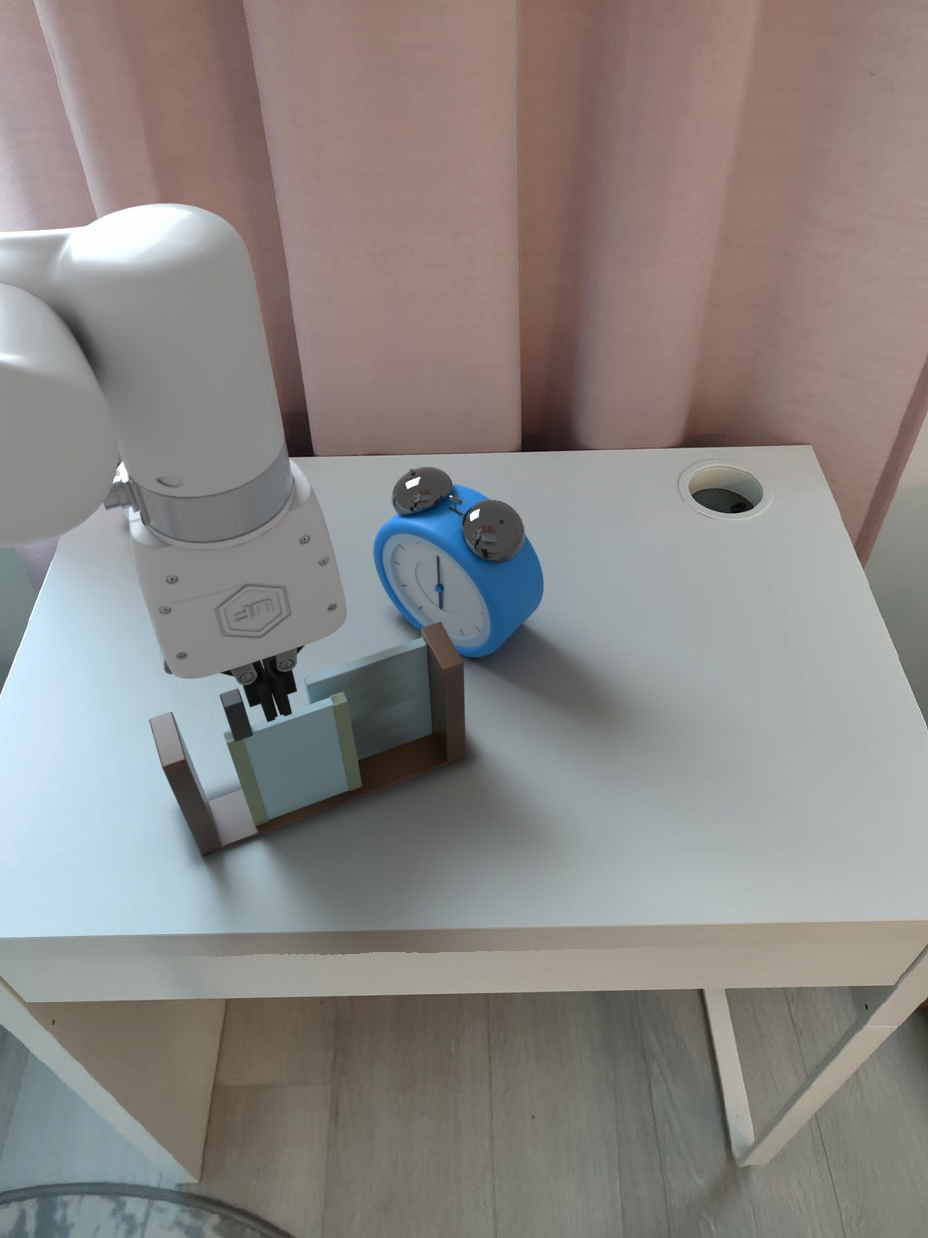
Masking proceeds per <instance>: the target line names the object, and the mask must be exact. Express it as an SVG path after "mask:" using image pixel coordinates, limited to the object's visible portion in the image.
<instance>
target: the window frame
mask: <svg viewBox="0 0 928 1238" xmlns="http://www.w3.org/2000/svg"><path fill="white" fill-rule="evenodd" d="M303 682H304V687H305V691H306V695H307V700H308V705H310V704H313V703H315V702H318V701H321V700H324V699H327V698H329V696H332V695H335V694H338V693H341V692H344V694H345V696H346V699H347V701H348V706H349V712H350V718H351V724H352V729H353V735H354V741H355V747H356V753H357V758H358V764H359V770H360V776H361V782H362V787H360V788H357V789H355V790H352V791H349V790H348V791H346V792H343V793H340V794H338V795H335V796H332V797H330V798H327V799H324V800H322V801H319V802H316V803H313V804H311V805H308V806H305V807H303V808H300V809H297V810H295V811H292V812H289V813H287V814H284V815H281V816H278V817H276V818H273V819H270V820H269V821H268V822H266V823H263V824H261V825H258V826H255V824H254V821H253V819H252V816H251V813H250V810H249V807H248V804H247V801H246V798H245V795H244V792H243V789H242V788H241V789H238V790H234V791H232V792H230V793H227V794H224V795H221V796H218V797H216V798H213V799H210V800H208V797H207V795H206V791H205V790H204V788H203V785H202V783H201V780H200V777H199V775H198V772H197V770H196V768H195V765H194V762H193V760H192V758H191V755H190V753H189V751H188V747H187V745H186V742H185V740H184V737H183V735H182V732H181V730H180V727H179V725H178V723H177V719H176V717H175V715H174V712H173V711H169V712H167V713H163V714H159V715H157V716H154V717H151V718H149V719H148V722H149V726H150V729H151V734H152V737H153V740H154V743H155V747H156V751H157V755H158V759H159V762H160V766H161V769H162V771H163V774H164V776H165V778H166V780H167V783H168V784H169V787H170V790H171V791H172V794H173V795H174V798H175V800H176V802H177V805H178V808H179V809H180V811H181V813H182V817H183V818H184V820H185V822H186V825H187V827H188V829H189V831H190V834H191V836H192V838H193V841H194V843H195V845H196V847H197V849H198V852H199V854H200V856H201V858H203V857H206V856H209V855H211V854H214V853H216V852H219V851H221V850H225V849H227V848H230V847H233V846H236V845H238V844H240V843H243V842H247V841H248V840H251V839H253V838H257V837H259V836H262V835H265V834H268V833H271V832H273V831H276V830H278V829H281V828H283V827H286V826H289V825H291V824H295V823H297V822H299V821H303V820H304V819H308V818H309V817H312V816H313V817H314V816H315V815H318V814H320V813H323V812H326V811H329V810H331V809H334V808H337V807H339V806H342V805H345V804H348V803H351V802H353V801H355V800H358V799H361V798H364V797H366V796H369V795H372V794H374V793H376V792H379V791H382V790H385V789H387V788H390V787H392V786H396V785H398V784H401V783H404V782H406V781H409V780H411V779H414V778H417V777H420V776H422V775H425V774H427V773H430V772H433V771H435V770H439V769H441V768H443V767H447V766H449V765H451V764H454V763H457V762H460V761H463V760H465V759H466V758H467V742H466V701H465V662H464V660H463V659H462V657H461V655H460V654H459V653H458V652H457V650H456V648H455V646H454V644H453V643H452V641H451V639H450V637H449V635H448V634H447V632H446V630H445V628H444V626H443V625H442V623H441V622H437V623H434V624H431V625H428V626H426V627H423V628H421V631H420V637H419V638H416V639H414V640H410V641H407V642H404V643H401V644H398V645H395V646H392V647H390V648H386V649H384V650H380V651H378V652H374V653H372V654H369V655H366V656H363V657H359V658H357V659H354V660H350V661H348V662H345V663H341V664H339V665H336V666H333V667H331V668H330V667H329V668H327V669H325V670H321V671H319V672H315V673H312V674H309V675H307V676H304V677H303Z"/></svg>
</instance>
